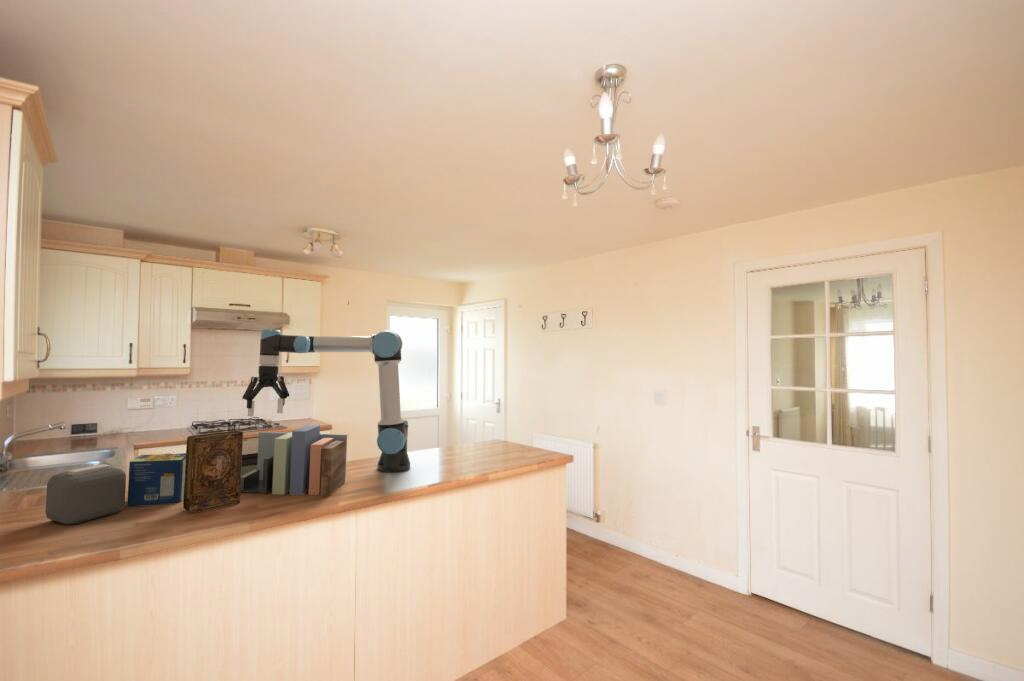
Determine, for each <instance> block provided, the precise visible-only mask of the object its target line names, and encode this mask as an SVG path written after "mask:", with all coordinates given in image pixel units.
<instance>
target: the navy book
mask: <svg viewBox="0 0 1024 681" xmlns="http://www.w3.org/2000/svg"><path fill="white" fill-rule="evenodd" d="M291 432H292V447H291V470H290V491H289V495H295V496H296V495H299V496H300V495H301V496H302V495H303V496H304V494H306V493H307V492H309V473H310V450H311V444H313V443H315V442H317V441H319V440H320V434H321V425H320V424H319V425H317V424H307V425H304V426H302V427H298V428H297V429H295V430H292V431H291Z"/></svg>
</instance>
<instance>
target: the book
mask: <svg viewBox="0 0 1024 681" xmlns="http://www.w3.org/2000/svg"><path fill="white" fill-rule="evenodd" d="M186 438H187V439H186V447H185V448H186V449H185V453H186V464H185V482H184V499H183V500H182V501H183V503H182V505H183V507H182V508H183V510H188V512H189V513H190V514H196V513H200V512H206V511H211V510H214V509H219V508H223V507H228V506H232V505H236V504H237V505H238V504H240V503H241V492H240V487H241V476H242V464H243V462H242V461H243V460H242V459H243V446H244V444H243V443H244V440H243V439H244V432H243V431H241V430H230V431H223V432H222V431H221V432H213V433H206V434H205V433H204V434H195V435H188V436H187V437H186Z"/></svg>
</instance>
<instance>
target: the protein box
mask: <svg viewBox="0 0 1024 681" xmlns="http://www.w3.org/2000/svg"><path fill="white" fill-rule="evenodd" d="M185 464H186V452H185V453H161V454H159V453H158V454H141V455H139V456H137V457H135V458H133V459H132V460H130V461H129V466H128V484H127V485H128V486H127V487H128V489H127V502H126V503H127V504H126V507H127V506H131V507H140V506H139V505H146V506H157V505H156V504H158V506H159V504H161V505H174V504H180V503H181V502H182V501H183V500H184V482H185Z"/></svg>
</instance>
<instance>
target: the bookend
mask: <svg viewBox="0 0 1024 681" xmlns="http://www.w3.org/2000/svg"><path fill="white" fill-rule="evenodd" d="M273 463H274V455H271V456H269V457H267V458H265V459H264V463H263V480H259V477H260V470H257V469H253V470H251V471H249V472H247V473H245V474H243V475H241V487H240V493H254V494H255V493H256V494H257V493H258V494H259V493H261V494H263V495H264V494H265V495H266V494H268V493H269V492H272V485H273Z"/></svg>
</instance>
